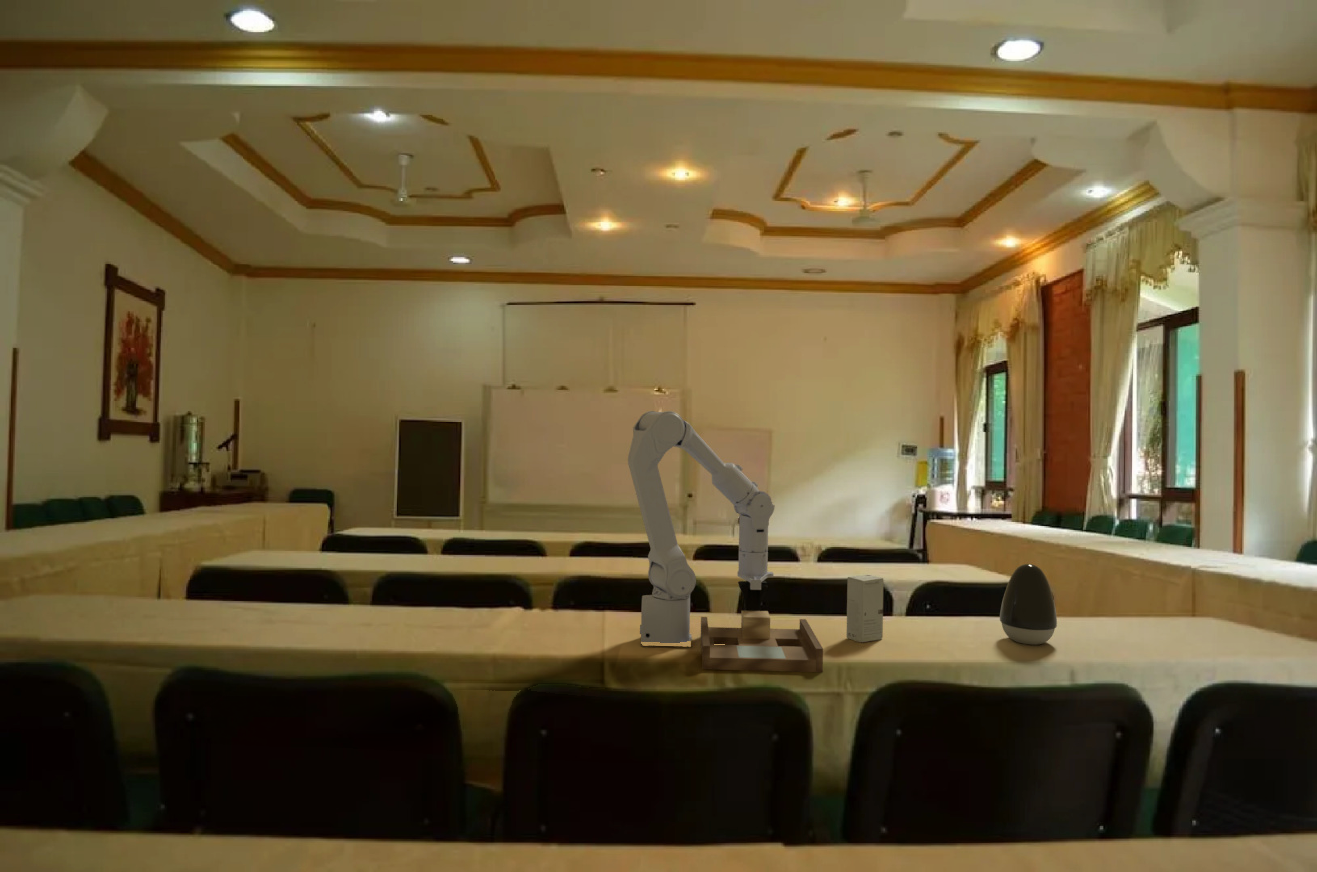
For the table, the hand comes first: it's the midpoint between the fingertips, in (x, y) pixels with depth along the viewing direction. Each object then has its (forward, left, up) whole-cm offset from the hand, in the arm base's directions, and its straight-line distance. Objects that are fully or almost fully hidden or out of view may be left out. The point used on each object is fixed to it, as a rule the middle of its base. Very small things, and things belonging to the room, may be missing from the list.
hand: (752, 618), depth 162 cm
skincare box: (+22, -1, -3) cm, 22 cm away
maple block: (0, -8, -1) cm, 8 cm away
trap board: (0, -13, -3) cm, 13 cm away
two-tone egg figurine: (+54, 0, -3) cm, 54 cm away
